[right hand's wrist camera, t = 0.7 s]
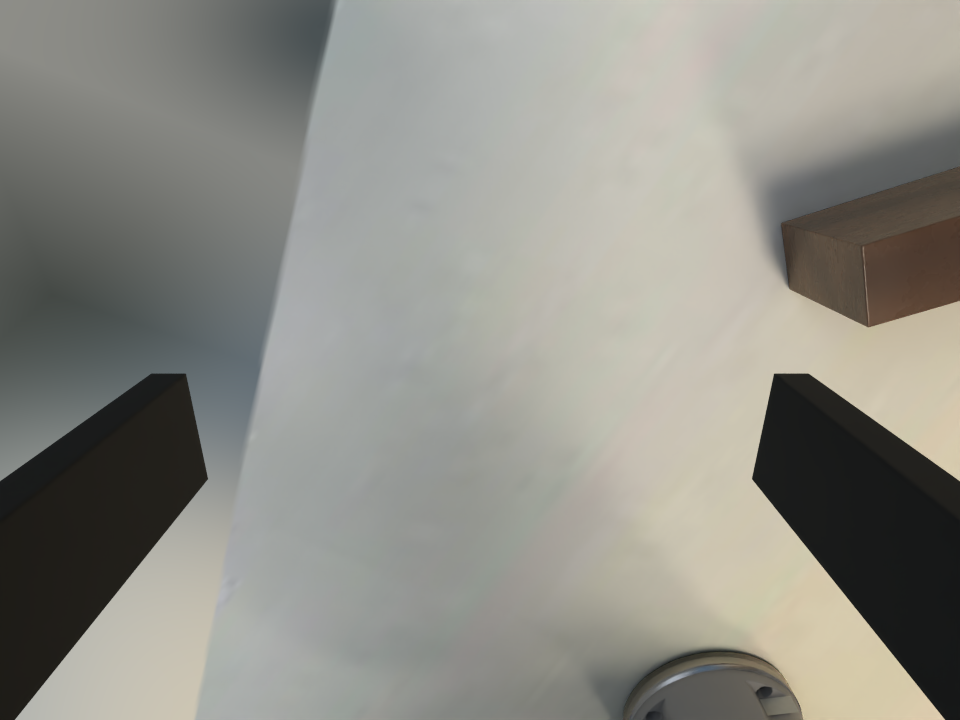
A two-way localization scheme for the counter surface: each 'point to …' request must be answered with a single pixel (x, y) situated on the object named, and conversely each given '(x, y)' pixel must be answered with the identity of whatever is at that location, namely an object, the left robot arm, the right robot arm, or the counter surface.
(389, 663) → the counter surface
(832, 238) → the walnut beam
